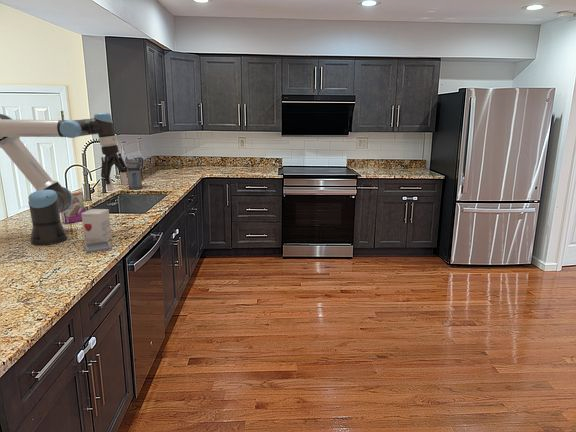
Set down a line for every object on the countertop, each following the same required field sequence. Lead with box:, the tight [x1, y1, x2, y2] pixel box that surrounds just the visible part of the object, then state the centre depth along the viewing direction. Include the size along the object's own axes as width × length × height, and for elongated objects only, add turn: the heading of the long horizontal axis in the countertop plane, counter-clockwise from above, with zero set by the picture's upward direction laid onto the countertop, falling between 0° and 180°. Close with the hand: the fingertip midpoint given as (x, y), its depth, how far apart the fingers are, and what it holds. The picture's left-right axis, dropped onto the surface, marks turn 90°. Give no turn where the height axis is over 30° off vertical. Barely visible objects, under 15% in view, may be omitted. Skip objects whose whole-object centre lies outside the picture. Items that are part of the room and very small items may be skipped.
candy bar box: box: [60, 190, 86, 225], centre depth 228 cm, size 11×5×16 cm, turn 141°
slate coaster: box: [84, 240, 113, 254], centre depth 185 cm, size 10×10×2 cm
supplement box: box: [81, 208, 112, 245], centre depth 193 cm, size 9×9×15 cm
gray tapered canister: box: [124, 156, 144, 191], centre depth 320 cm, size 10×13×25 cm
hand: (118, 187), depth 207 cm, fingers open, 13 cm apart
